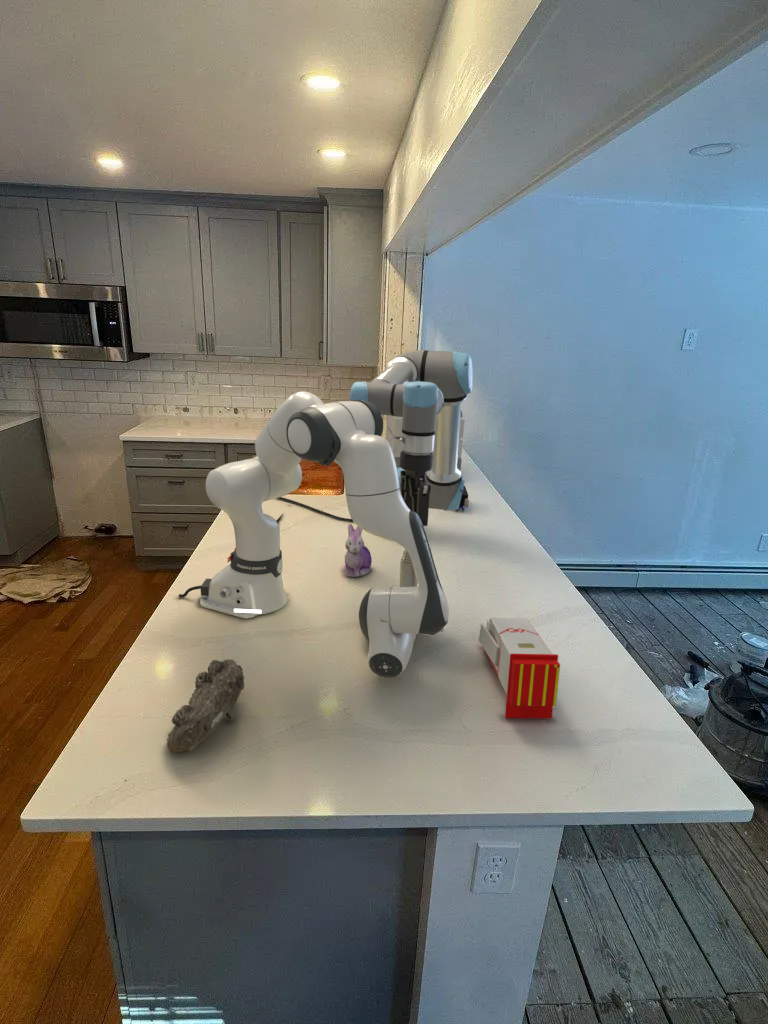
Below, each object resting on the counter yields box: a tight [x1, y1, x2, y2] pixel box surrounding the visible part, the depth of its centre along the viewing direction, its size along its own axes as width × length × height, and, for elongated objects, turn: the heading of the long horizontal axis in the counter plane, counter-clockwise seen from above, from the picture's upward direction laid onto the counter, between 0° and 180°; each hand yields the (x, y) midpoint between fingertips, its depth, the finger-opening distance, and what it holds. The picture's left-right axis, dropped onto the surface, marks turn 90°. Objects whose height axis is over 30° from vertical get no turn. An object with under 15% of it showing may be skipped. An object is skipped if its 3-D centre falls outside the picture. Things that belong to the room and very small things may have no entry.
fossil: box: [166, 658, 245, 754], centre depth 106 cm, size 22×10×15 cm
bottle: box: [398, 548, 419, 587], centre depth 140 cm, size 5×5×22 cm
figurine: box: [343, 523, 373, 578], centre depth 168 cm, size 9×10×15 cm
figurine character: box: [455, 485, 470, 512], centre depth 229 cm, size 7×8×15 cm
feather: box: [276, 513, 284, 523], centre depth 210 cm, size 2×28×2 cm
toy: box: [478, 616, 561, 720], centre depth 122 cm, size 12×13×30 cm
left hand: (407, 598), depth 143 cm, fingers closed on bottle, 4 cm apart
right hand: (410, 545), depth 137 cm, fingers open, 5 cm apart
